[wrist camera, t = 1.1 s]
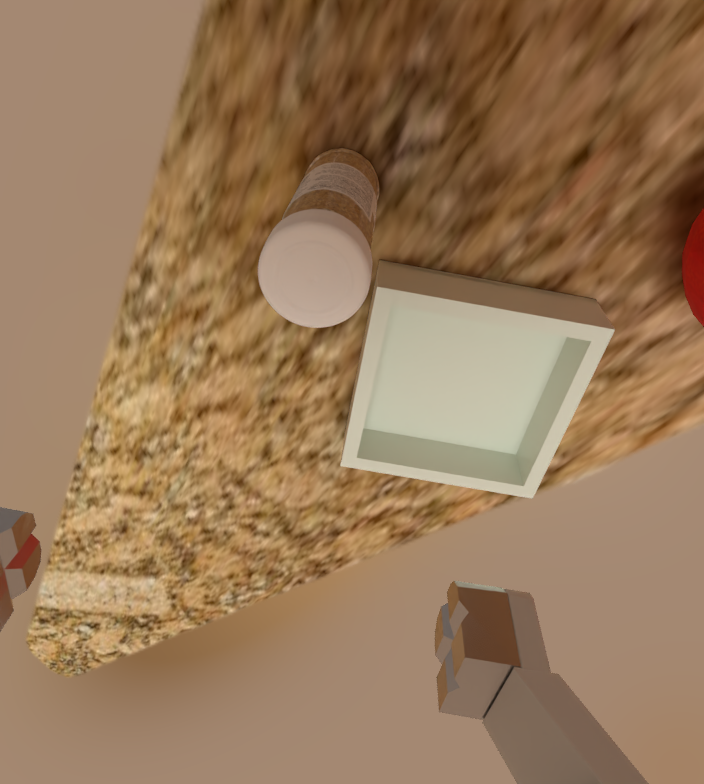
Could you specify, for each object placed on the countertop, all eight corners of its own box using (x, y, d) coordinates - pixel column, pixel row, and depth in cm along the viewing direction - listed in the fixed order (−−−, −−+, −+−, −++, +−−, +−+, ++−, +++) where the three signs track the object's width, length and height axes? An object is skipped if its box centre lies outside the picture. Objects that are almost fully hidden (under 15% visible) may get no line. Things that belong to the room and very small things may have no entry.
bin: (379, 259, 36) (377, 286, 33) (595, 299, 37) (615, 329, 33) (345, 430, 44) (340, 465, 41) (522, 461, 45) (532, 498, 41)
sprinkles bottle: (347, 240, 35) (322, 351, 24) (287, 190, 34) (233, 285, 23) (397, 182, 33) (394, 275, 22) (335, 126, 32) (300, 197, 21)
